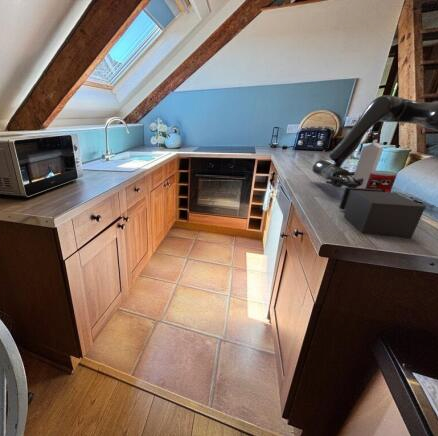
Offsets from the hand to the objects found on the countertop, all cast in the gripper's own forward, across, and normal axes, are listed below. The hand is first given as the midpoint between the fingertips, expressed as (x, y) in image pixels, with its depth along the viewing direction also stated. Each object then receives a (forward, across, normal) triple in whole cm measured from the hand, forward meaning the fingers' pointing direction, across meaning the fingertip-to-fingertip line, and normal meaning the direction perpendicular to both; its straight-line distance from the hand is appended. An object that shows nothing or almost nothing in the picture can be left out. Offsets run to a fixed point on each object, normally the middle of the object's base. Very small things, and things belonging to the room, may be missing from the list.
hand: (353, 186), depth 91 cm
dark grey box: (+21, 0, +8) cm, 22 cm away
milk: (-32, +16, +8) cm, 37 cm away
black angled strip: (+11, 0, +7) cm, 13 cm away
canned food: (-13, +14, +8) cm, 21 cm away
